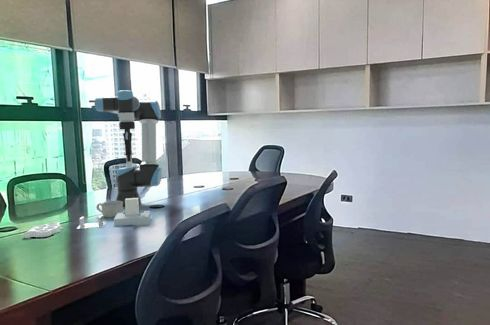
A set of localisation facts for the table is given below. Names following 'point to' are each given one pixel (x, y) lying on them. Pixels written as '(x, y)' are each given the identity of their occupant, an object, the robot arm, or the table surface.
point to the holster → (91, 225)
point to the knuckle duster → (43, 230)
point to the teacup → (111, 208)
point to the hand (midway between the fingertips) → (129, 167)
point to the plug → (132, 206)
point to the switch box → (132, 219)
